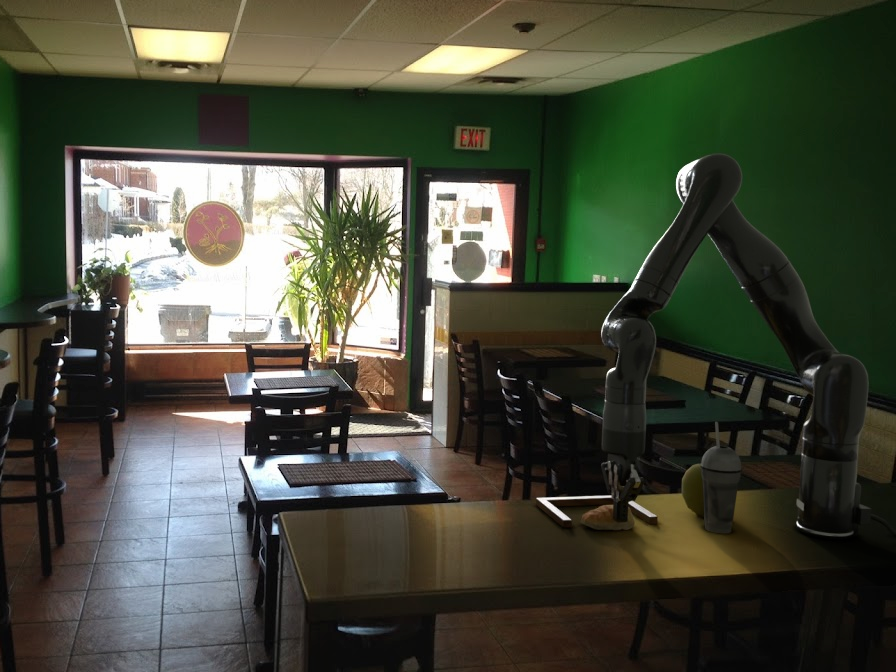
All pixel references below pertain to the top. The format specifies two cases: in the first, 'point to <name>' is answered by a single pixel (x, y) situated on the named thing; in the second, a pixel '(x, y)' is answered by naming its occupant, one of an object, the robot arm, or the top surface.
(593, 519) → the pastry
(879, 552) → the top surface
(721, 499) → the beverage cup
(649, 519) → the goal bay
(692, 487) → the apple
